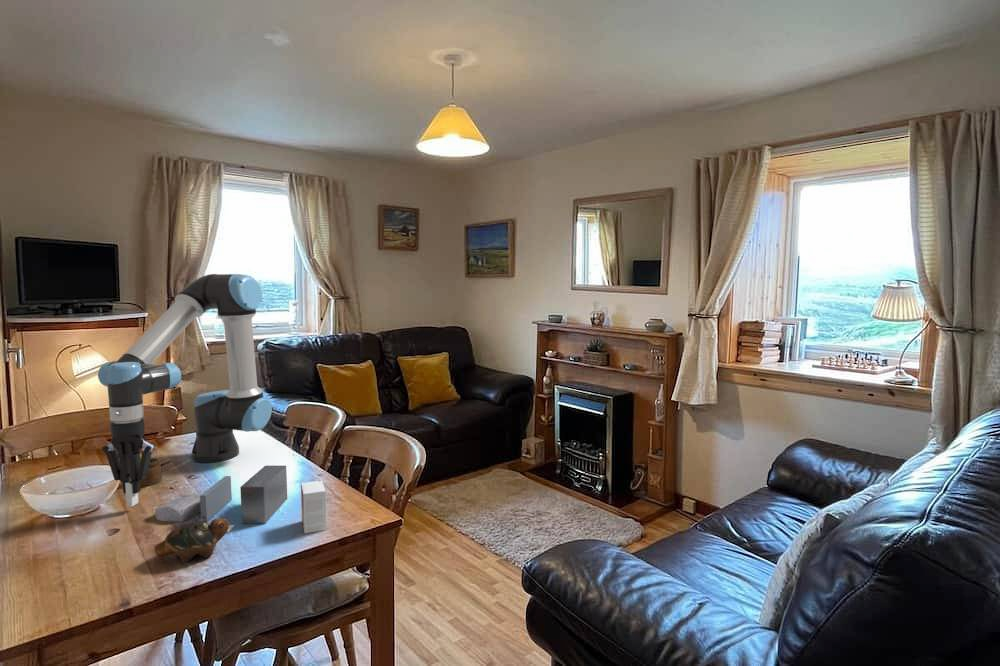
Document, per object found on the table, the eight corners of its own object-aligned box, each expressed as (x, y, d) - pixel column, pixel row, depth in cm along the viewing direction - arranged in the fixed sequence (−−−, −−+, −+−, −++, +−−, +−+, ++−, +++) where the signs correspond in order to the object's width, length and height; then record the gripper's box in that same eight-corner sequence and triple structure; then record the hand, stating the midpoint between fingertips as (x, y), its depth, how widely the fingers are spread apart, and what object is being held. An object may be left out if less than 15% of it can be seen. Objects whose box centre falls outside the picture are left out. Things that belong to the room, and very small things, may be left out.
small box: (301, 521, 145) (300, 482, 144) (323, 517, 147) (322, 479, 146) (303, 534, 137) (302, 494, 136) (327, 530, 140) (325, 490, 138)
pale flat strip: (195, 526, 141) (195, 524, 141) (234, 526, 141) (234, 524, 141) (188, 532, 138) (188, 530, 138) (228, 532, 138) (228, 530, 138)
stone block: (152, 527, 145) (184, 523, 143) (148, 509, 145) (180, 505, 143) (185, 509, 157) (216, 506, 155) (182, 493, 156) (212, 489, 154)
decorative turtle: (234, 554, 127) (230, 523, 126) (157, 578, 119) (152, 544, 118) (228, 536, 135) (224, 506, 134) (156, 556, 127) (151, 525, 126)
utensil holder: (159, 484, 169) (157, 446, 168) (135, 487, 167) (133, 448, 165) (164, 477, 174) (162, 441, 173) (141, 480, 172) (138, 443, 171)
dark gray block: (266, 498, 159) (265, 465, 158) (287, 498, 159) (286, 465, 158) (241, 523, 143) (240, 487, 142) (265, 523, 143) (263, 486, 142)
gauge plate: (226, 499, 157) (225, 475, 157) (231, 499, 157) (230, 475, 157) (191, 530, 138) (189, 503, 138) (196, 530, 138) (195, 503, 138)
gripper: (92, 423, 143) (98, 510, 146) (143, 423, 144) (148, 510, 146) (112, 416, 151) (117, 498, 153) (160, 416, 151) (164, 498, 153)
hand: (132, 504), depth 150 cm, fingers closed
